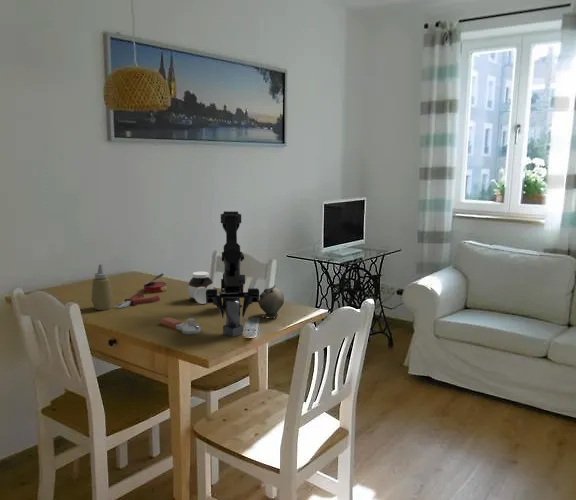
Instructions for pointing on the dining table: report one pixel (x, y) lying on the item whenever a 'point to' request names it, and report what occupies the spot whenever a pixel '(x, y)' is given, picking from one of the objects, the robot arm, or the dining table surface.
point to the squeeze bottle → (101, 290)
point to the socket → (232, 318)
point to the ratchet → (182, 325)
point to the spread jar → (199, 286)
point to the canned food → (155, 286)
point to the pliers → (137, 300)
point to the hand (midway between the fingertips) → (233, 316)
